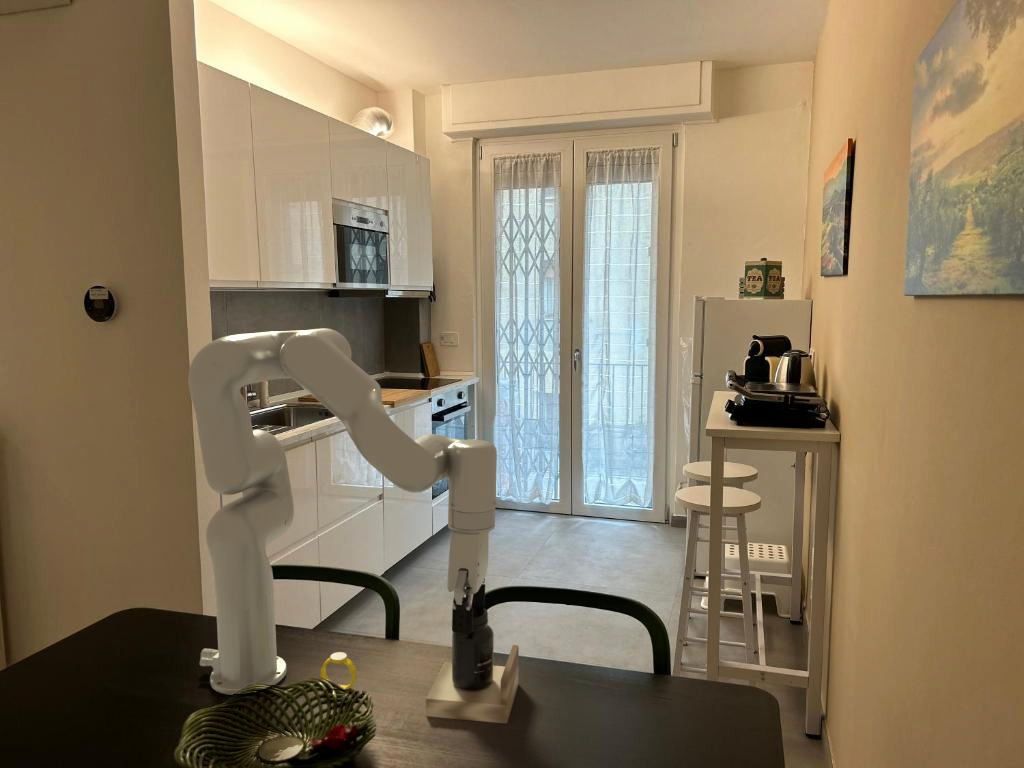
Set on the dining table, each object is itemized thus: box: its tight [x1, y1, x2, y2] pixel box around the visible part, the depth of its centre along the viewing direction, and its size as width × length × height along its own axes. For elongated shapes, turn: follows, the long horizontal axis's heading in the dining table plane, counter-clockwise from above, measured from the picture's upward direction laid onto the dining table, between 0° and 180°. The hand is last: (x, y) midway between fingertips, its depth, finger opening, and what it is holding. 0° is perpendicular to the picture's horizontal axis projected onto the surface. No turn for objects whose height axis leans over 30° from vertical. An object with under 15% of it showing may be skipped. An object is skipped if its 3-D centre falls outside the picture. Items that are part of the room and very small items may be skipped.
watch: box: [320, 651, 357, 690], centre depth 127 cm, size 6×3×6 cm, turn 78°
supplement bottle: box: [451, 606, 495, 691], centre depth 123 cm, size 7×7×12 cm
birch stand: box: [425, 644, 520, 724], centre depth 123 cm, size 13×12×7 cm
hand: (468, 618), depth 122 cm, fingers open, 9 cm apart
